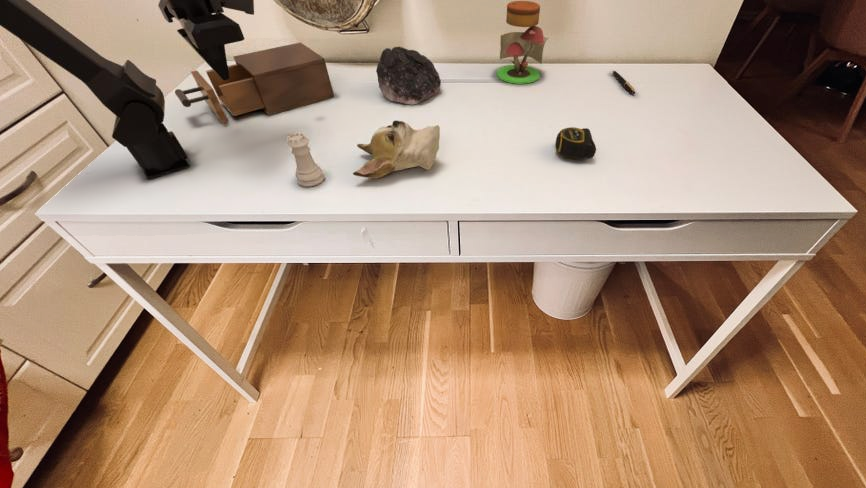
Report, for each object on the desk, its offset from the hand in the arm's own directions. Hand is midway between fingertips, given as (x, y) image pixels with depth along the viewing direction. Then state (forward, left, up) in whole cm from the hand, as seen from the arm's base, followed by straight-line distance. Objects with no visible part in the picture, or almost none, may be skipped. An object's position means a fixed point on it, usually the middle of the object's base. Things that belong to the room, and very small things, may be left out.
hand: (225, 79), depth 64 cm
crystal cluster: (+35, +2, -12) cm, 38 cm away
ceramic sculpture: (+17, -23, -12) cm, 31 cm away
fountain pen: (+79, -25, -12) cm, 83 cm away
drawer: (+2, +17, -11) cm, 20 cm away
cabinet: (+14, +17, -12) cm, 25 cm away
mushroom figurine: (+63, -6, -12) cm, 64 cm away
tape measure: (+46, -39, -12) cm, 61 cm away
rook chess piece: (+4, -17, -12) cm, 21 cm away
